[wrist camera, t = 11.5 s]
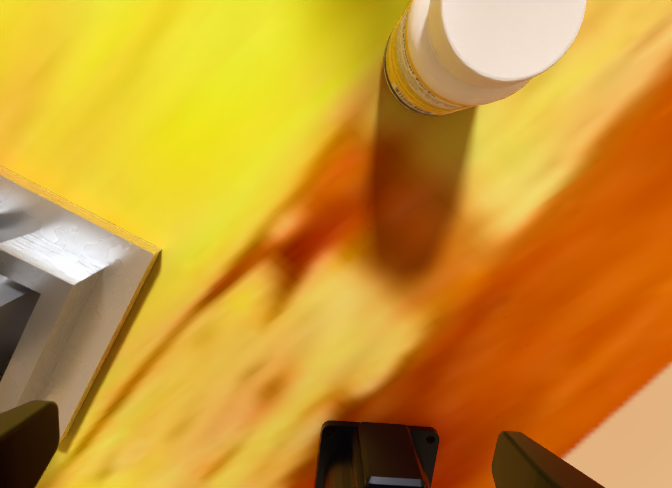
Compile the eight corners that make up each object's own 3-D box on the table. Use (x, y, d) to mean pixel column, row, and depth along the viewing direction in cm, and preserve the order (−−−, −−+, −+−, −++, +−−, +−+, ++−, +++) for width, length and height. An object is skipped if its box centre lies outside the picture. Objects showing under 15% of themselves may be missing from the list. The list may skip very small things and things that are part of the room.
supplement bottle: (481, -2, 19) (606, -114, 11) (488, 108, 20) (606, 83, 12) (374, 14, 19) (418, -86, 11) (387, 123, 20) (435, 109, 12)
